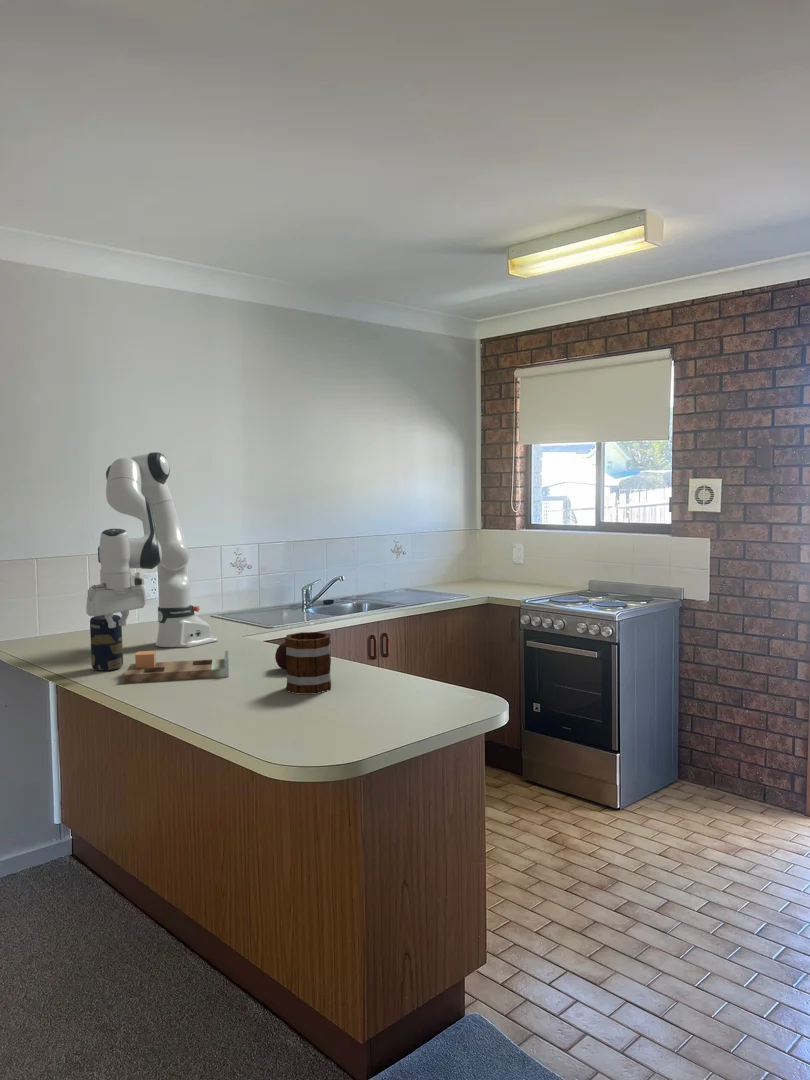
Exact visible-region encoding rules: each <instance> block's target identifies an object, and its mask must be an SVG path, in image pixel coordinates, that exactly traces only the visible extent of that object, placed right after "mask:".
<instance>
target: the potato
mask: <svg viewBox="0 0 810 1080" xmlns="http://www.w3.org/2000/svg"><path fill="white" fill-rule="evenodd" d="M274 655H275V656H274V658H275V662H276V663H277V666H278V667H279V668H280V669H282V670H285V671H286V642H285V641H284V642H282V643H281V644H279V645H278V647H277V648H276V650H275V654H274Z"/></svg>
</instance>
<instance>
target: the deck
mask: <svg viewBox="0 0 810 1080" xmlns="http://www.w3.org/2000/svg"><path fill="white" fill-rule="evenodd" d="M123 677H124V678H123V679H124V681H123V682H124V684H131V683H132V684H133V683H134V684H135V683H150V682H165V681H168V682H169V681H178V680H179V681H182V680H183V681H184V680H197V679H198V680H199V679H213V678H214V679H217V678H226V677H225V658H214V659H210V658H209V659H197V660H196V659H194V660H179V661H177V660H176V661H160V662H157V661H156V664H155V667H145V668H136V663H130V664H129V666H128V668H127V669H126V671H125V672H124V675H123Z"/></svg>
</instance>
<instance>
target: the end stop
mask: <svg viewBox="0 0 810 1080" xmlns="http://www.w3.org/2000/svg"><path fill="white" fill-rule="evenodd" d="M229 658H230V657H229V650H225V651H224V659H225V677H224V678H229V673H230V671H229V670H230V668H229V667H230V665H229V661H230V659H229Z"/></svg>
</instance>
